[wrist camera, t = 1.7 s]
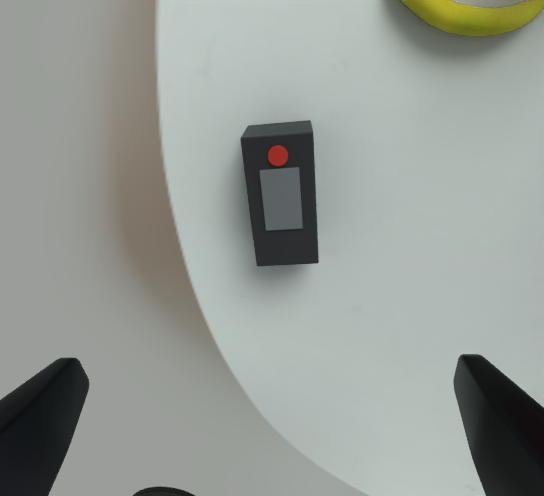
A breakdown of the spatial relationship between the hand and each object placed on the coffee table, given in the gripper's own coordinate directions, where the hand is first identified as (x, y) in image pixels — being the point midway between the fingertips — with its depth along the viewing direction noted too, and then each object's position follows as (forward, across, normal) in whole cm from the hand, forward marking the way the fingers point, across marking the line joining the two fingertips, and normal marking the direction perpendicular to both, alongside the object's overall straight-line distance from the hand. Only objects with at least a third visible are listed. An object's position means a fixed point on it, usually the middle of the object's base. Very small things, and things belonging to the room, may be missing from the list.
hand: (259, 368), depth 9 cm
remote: (+13, 0, +1) cm, 13 cm away
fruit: (+13, -8, -6) cm, 16 cm away
